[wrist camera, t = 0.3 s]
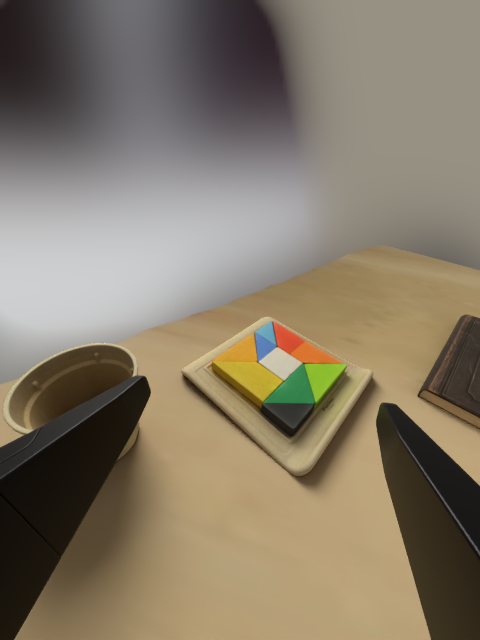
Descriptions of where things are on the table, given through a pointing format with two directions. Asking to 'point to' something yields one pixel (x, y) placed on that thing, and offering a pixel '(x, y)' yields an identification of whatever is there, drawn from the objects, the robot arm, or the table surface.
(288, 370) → the wooden puzzle
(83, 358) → the flower pot
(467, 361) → the hardcover book
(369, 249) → the table surface
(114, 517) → the table surface
